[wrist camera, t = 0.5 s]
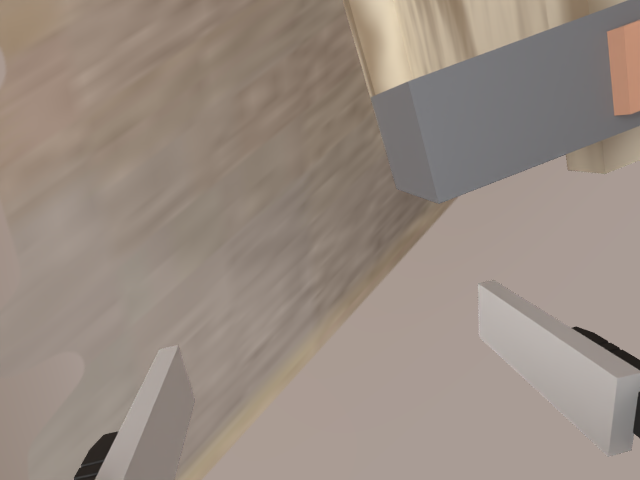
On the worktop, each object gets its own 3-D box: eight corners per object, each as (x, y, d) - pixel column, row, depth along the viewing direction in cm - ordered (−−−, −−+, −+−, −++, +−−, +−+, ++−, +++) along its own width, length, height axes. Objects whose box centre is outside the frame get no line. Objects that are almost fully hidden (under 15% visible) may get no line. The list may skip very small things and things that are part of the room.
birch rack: (386, 153, 43) (605, 174, 15) (339, -12, 38) (544, -430, 10) (480, 117, 44) (854, 76, 16) (447, -50, 38) (919, -542, 11)
